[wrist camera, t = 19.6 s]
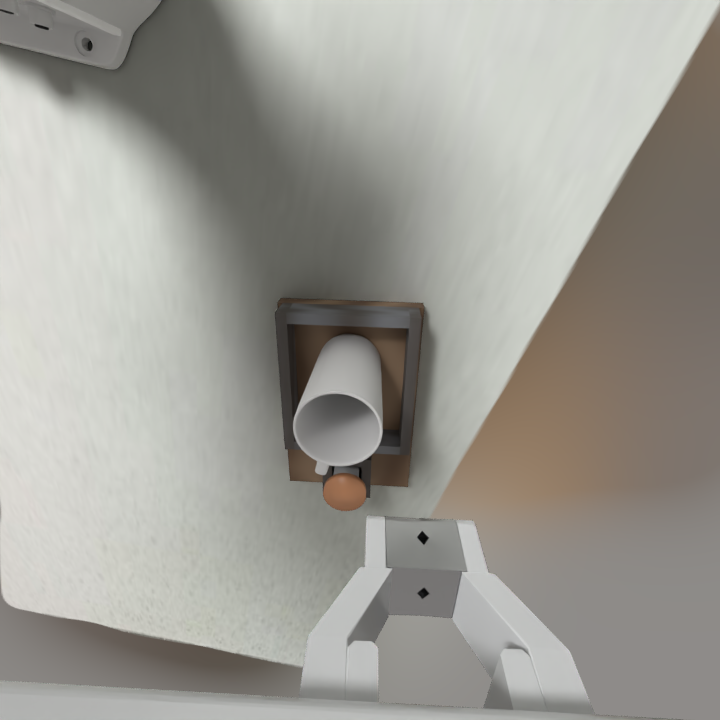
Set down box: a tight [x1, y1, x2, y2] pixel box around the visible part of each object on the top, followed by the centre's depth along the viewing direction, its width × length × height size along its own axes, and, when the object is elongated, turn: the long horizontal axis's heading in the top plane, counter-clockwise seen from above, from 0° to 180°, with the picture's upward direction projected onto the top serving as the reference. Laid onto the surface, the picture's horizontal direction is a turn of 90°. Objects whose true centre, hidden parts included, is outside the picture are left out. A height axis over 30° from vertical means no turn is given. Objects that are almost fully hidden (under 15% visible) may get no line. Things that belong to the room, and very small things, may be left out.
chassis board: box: [275, 298, 424, 498], centre depth 42 cm, size 14×22×4 cm, turn 179°
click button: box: [323, 466, 366, 511], centre depth 43 cm, size 4×4×5 cm
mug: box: [293, 334, 383, 475], centre depth 36 cm, size 10×7×12 cm, turn 161°
